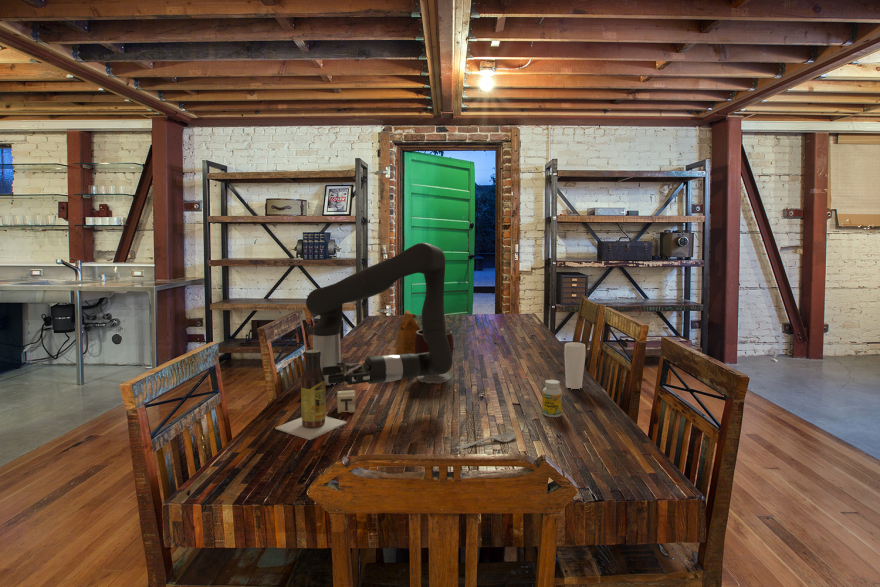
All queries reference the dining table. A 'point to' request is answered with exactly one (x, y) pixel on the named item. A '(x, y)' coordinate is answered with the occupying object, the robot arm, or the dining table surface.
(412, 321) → the coffee package
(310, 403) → the sauce bottle
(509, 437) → the spoon
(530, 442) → the dining table surface
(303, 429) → the beige mat
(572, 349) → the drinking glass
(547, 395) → the supplement bottle
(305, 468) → the dining table surface
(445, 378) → the mate gourd
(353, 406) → the letter block
